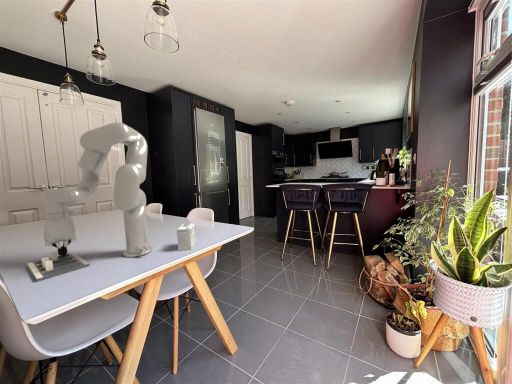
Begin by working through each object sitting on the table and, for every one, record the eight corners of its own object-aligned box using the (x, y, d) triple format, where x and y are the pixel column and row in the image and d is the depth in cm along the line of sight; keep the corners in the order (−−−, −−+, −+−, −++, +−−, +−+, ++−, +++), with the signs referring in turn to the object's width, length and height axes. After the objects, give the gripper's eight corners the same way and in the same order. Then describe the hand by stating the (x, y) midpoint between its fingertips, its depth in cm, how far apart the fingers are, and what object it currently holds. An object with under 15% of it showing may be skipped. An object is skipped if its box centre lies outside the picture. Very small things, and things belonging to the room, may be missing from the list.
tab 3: (58, 260, 96) (57, 252, 95) (52, 261, 94) (50, 253, 94) (56, 258, 97) (55, 251, 97) (50, 260, 96) (49, 252, 95)
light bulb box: (183, 243, 116) (181, 223, 115) (196, 242, 116) (194, 223, 115) (177, 250, 105) (176, 229, 104) (191, 249, 106) (190, 228, 105)
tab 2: (53, 269, 86) (52, 261, 85) (46, 271, 84) (45, 263, 84) (52, 268, 87) (51, 259, 87) (45, 270, 86) (44, 261, 85)
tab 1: (50, 266, 89) (49, 258, 89) (43, 267, 88) (42, 259, 87) (49, 264, 91) (47, 256, 90) (42, 266, 89) (41, 258, 89)
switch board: (89, 265, 91) (89, 261, 91) (36, 281, 79) (35, 277, 78) (73, 254, 106) (73, 250, 106) (26, 266, 93) (26, 262, 93)
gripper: (77, 212, 105) (81, 249, 106) (33, 218, 93) (38, 259, 95) (81, 214, 100) (85, 252, 102) (36, 220, 88) (41, 263, 90)
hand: (63, 255), depth 98 cm, fingers closed
